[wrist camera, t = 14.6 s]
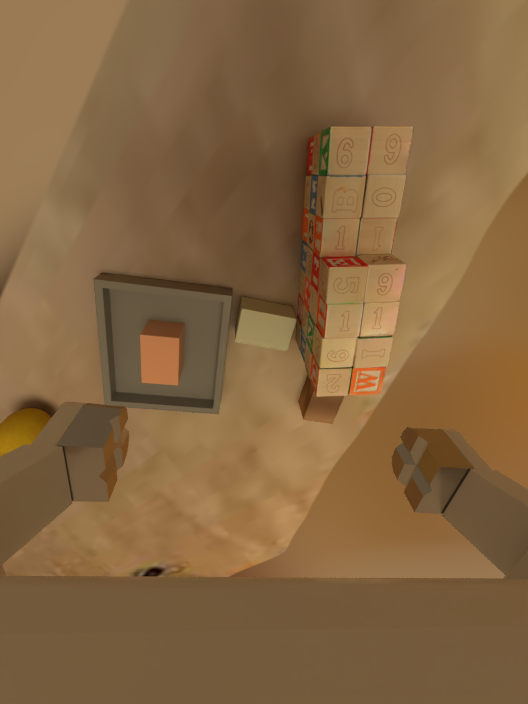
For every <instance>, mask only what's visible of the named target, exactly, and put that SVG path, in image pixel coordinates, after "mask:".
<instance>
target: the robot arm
mask: <svg viewBox="0 0 528 704" xmlns="http://www.w3.org/2000/svg"><path fill="white" fill-rule="evenodd" d="M127 420H128V414H127V408H126V407H123V406H112V405H102V404H91V403H87V404H86V403H77V402H65V403H63V404H62V405H61V406H60V407H59V409H58V410H57V411H56V413H55V414H54V415H53V416H52V418H51V419H50V420H49V422H48V423H47V424H46V426H45V427H44V428H43V430H42V431H41V432H40V433H39V435H38V436H37V437H36V439H35V440H34V441H33V443H32V444H31V445H22V446H20V447H18V448H17V449H15V450H13V451H11V452H9V453H7V454H5V455H3V456H1V457H0V704H528V489H526V488H525V487H523V486H522V485H520V484H518V483H517V482H515V481H513V480H512V479H510V478H508V477H506V476H505V475H503V474H502V473H500V472H499V471H495V470H492V469H491V468H490V467H489V466H488V465H487V464H486V463H485V462H484V460H483V459H482V458H481V457H480V456H479V455H478V453H477V452H476V451H475V450H474V449H473V448H472V446H471V445H470V444H469V443H468V442H467V441H466V439H465V438H464V437H463V436H462V435H461V434H460V433H459V432H457V431H456V430H453V429H426V428H411V427H407V428H406V429H405V430H404V431H403V433H402V435H401V440H402V442H403V443H402V444H400V445H399V446H398V447H396V448H395V451H394V453H393V456H392V467H393V471H394V474H395V476H396V478H397V480H399V481H400V482H401V483H402V484H404V485H405V490H404V493H405V495H406V497H407V499H408V501H409V503H410V504H411V506H412V508H413V510H414V512H420V513H434V514H443V515H442V516H443V517H444V518H445V519H446V520H447V521H448V522H450V523H451V524H452V525H453V526H454V527H455V528H456V529H457V530H458V531H459V532H460V533H461V534H462V535H463V536H465V538H467V539H468V540H469V541H470V542H471V543H472V544H473V545H474V546H475V547H476V548H477V549H478V550H479V551H480V552H481V553H482V554H483V555H485V556H486V557H487V558H488V559H489V560H490V561H491V562H492V563H493V564H494V565H495V566H496V567H497V568H498V569H499V570H501V571H502V572H503V573H504V574H505V575H506V576H505V577H504V578H503V579H471V578H465V579H464V578H276V577H275V578H273V577H272V578H271V577H268V578H267V577H106V576H6V574H5V571H4V568H3V566H2V564H3V563H5V562H6V561H7V560H8V559H9V558H10V557H11V556H13V555H14V554H15V553H16V552H17V551H18V550H19V549H21V548H22V547H23V546H24V545H25V544H26V543H27V542H29V541H30V540H31V539H32V538H33V537H34V536H35V535H37V534H38V533H39V532H40V531H41V530H42V529H43V528H45V527H46V526H47V525H48V524H49V523H50V522H51V521H53V520H54V519H55V518H56V517H57V516H58V515H60V514H61V513H62V512H63V511H64V510H65V509H66V508H68V507H69V506H70V505H71V504H72V501H98V502H109V499H110V497H111V494H112V492H113V489H114V487H115V484H116V482H117V470H118V469H119V468H121V467H122V466H123V464H124V461H125V458H126V454H127V450H128V443H129V431H128V430H127V429H126V428H125V424H126V422H127Z"/></svg>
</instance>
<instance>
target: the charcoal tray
mask: <svg viewBox="0 0 528 704" xmlns="http://www.w3.org/2000/svg"><path fill="white" fill-rule="evenodd" d="M93 280H94V291H95V302H96V313H97V324H98V335H99V346H100V357H101V368H102V379H103V390H104V401H105V405H112V406H123V407H128V408H142V409H156V410H169V411H183V412H196V413H210V414H219V408H220V399H221V390H222V381H223V372H224V363H225V354H226V345H227V336H228V327H229V318H230V309H231V300H232V289H229V288H221V287H213V286H205V285H197V284H189V283H181V282H173V281H165V280H157V279H149V278H141V277H133V276H125V275H117V274H109V273H101V274H100V275H98V276H97V277H96V278H94V279H93ZM149 320H157V321H167V322H177V323H185V327H184V356H183V370H182V373H181V377H180V380H179V384H178V385H165V384H152V383H142V377H141V349H140V334H141V332H142V331H143V329H144V327H145V326H146V324H147V322H148V321H149Z"/></svg>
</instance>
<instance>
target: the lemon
mask: <svg viewBox="0 0 528 704" xmlns="http://www.w3.org/2000/svg"><path fill="white" fill-rule="evenodd" d="M50 419H51V417H50V416H49V415H48V414H47V413H46V412H45V411H43V410H40V409H36V408H26V409H22V410H19V411H17V412H14V413H13V414H11V415H10V416H8V417H7V418H6V419H5V420H4V421H3V422H2V423H1V424H0V457H1V456H3V455H5V454H7V453H9V452H11V451H13V450H15V449H17V448H18V447H20V446H22V445H31V444H32V443H33V441H34V440H35V439H36V437H37V436H38V435H39V433H40V432H41V431H42V430H43V428H44V427H45V426H46V424H47V423H48V422H49V420H50Z"/></svg>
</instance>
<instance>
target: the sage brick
mask: <svg viewBox="0 0 528 704" xmlns="http://www.w3.org/2000/svg"><path fill="white" fill-rule="evenodd" d="M296 320H297V318H296V316H295V314H294V311H293V309H292V306H287V305H282V304H277V303H272V302H267V301H262V300H257V299H252V298H247V297H242V298H241V302H240V307H239V312H238V316H237V321H236V326H235V342H238V343H243V344H249V345H255V346H260V347H266V348H272V349H277V350H283V351H287V350H288V347H289V343H290V340H291V337H292V333H293V330H294V327H295V323H296Z"/></svg>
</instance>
